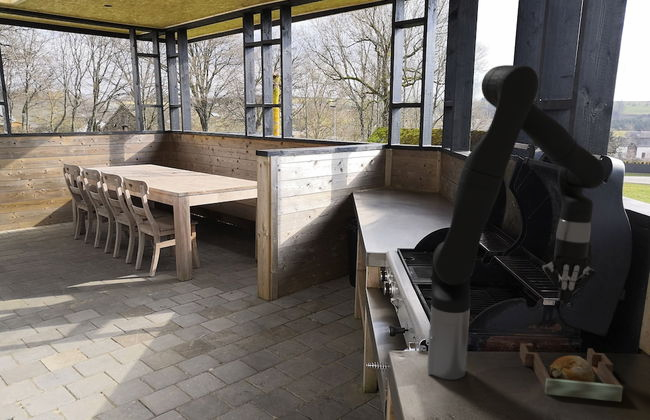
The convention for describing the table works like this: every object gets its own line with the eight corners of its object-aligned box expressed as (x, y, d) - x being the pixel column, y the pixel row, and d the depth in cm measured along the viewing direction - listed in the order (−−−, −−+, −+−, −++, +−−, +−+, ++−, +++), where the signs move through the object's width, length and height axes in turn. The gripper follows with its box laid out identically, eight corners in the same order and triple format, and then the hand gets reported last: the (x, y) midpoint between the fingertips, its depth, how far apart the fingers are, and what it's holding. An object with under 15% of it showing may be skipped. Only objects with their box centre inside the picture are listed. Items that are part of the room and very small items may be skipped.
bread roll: (589, 408, 113) (609, 382, 111) (548, 384, 115) (567, 358, 113) (580, 386, 123) (598, 361, 121) (542, 364, 125) (559, 340, 122)
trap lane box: (536, 393, 113) (538, 379, 112) (519, 354, 132) (520, 342, 131) (630, 402, 109) (632, 388, 109) (598, 361, 128) (600, 349, 127)
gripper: (549, 239, 120) (541, 305, 124) (606, 243, 118) (596, 310, 122) (541, 232, 128) (533, 294, 131) (595, 236, 126) (585, 299, 129)
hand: (564, 302), depth 126 cm, fingers closed
